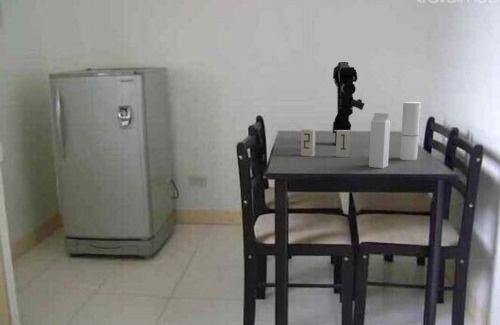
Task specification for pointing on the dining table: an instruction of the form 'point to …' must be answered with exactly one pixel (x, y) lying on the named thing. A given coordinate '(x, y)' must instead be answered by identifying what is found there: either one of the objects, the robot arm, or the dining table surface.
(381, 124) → the milk
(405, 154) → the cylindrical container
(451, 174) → the dining table surface
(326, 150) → the dining table surface
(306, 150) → the tile two
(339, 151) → the tile one
